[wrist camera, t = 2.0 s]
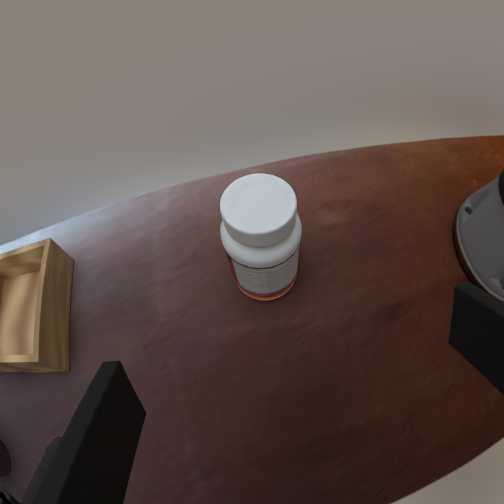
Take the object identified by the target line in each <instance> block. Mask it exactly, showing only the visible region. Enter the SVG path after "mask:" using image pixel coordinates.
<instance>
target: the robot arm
mask: <svg viewBox="0 0 504 504" xmlns="http://www.w3.org/2000/svg"><path fill="white" fill-rule="evenodd" d="M453 239H454V245H455V249H456V252H457V255H458V258H459V260H460V263H461V265H462V267H463V269H464V271H465V273H466V274H467V276H468V277H469V279H470V280H471V282H472V283H473V284H474V285H473V284H471V283H470V282H465V283H462V284H459V285H457V286H455V292H454V303H453V312H452V321H451V328H450V335H449V342H448V343H449V344H450V345H451V346H453V347H454V348H455V349H456V350H457V351H458V352H459V353H460V354H461V355H462V356H463V357H464V358H466V359H467V360H468V361H469V362H470V363H471V364H472V365H473V366H474V367H475V368H476V369H477V370H478V371H479V372H480V373H481V374H482V375H483V376H484V377H486V378H487V379H488V380H489V381H490V382H491V383H492V384H493V385H494V386H495V387H496V388H497V389H498V390H499V391H500V392H501V393H502V394H503V395H504V169H503V170H502V172H501V174H500V175H499V176H498V177H497V178H496V179H494V180H493V181H491V182H490V183H488V184H487V185H485V186H484V187H482V188H480V189H479V190H477V191H476V192H474V193H473V194H471V195H470V196H469V197H468V198H467V199H466V200H465V201H464V202H463V204H462V205H461V207H460V208H459V210H458V211H457V213H456V215H455V218H454V223H453ZM145 416H146V412H145V410H144V408H143V406H142V404H141V402H140V400H139V398H138V397H137V395H136V393H135V391H134V389H133V387H132V385H131V383H130V381H129V379H128V377H127V375H126V372H125V370H124V368H123V366H122V364H121V362H120V361H109V362H103V363H102V364H101V366H100V368H99V370H98V371H97V373H96V375H95V377H94V379H93V380H92V382H91V384H90V386H89V388H88V389H87V391H86V393H85V395H84V397H83V399H82V400H81V402H80V404H79V406H78V408H77V410H76V412H75V414H74V416H73V418H72V420H71V421H70V423H69V425H68V427H67V429H66V431H65V433H64V435H63V437H57V438H56V439H55V440H54V441H53V442H52V443H51V444H50V445H49V446H48V447H47V449H46V451H45V453H44V455H43V457H42V461H40V463H39V465H38V470H36V472H35V474H34V476H33V478H32V480H31V482H30V484H29V486H28V489H27V491H26V493H25V495H24V498H23V500H22V502H21V503H19V502H18V501H17V500H16V499H15V498H14V497H13V496H12V495H10V494H9V493H8V492H7V491H6V490H5V489H4V488H3V487H0V504H123V502H124V497H125V493H126V489H127V485H128V481H129V477H130V472H131V468H132V465H133V461H134V457H135V453H136V449H137V445H138V442H139V438H140V434H141V431H142V427H143V423H144V420H145Z"/></svg>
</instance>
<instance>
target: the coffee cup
mask: <svg viewBox="0 0 504 504" xmlns="http://www.w3.org/2000/svg"><path fill="white" fill-rule="evenodd" d="M9 472H10V458H9V455H8V452H7V450H6V448H5V446H4V444H3V443H2V442H1V441H0V477H1V476H6V475H8V474H9Z"/></svg>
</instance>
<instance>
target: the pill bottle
mask: <svg viewBox="0 0 504 504" xmlns="http://www.w3.org/2000/svg"><path fill="white" fill-rule="evenodd" d="M220 211H221V215H222V218H223V220H222V223H221V229H220V233H221V240H222V244H223V247H224V249H225V252H226V255H227V258H228V261H229V264H230V267H231V270H232V273H233V276H234V279H235V282H236V284H237V285H238V287H239V288H240V290H241V291H242V292H243V293H245V294H246V295H247V296H249V297H251V298H254V299H257V300H272V299H276V298H279V297H281V296H282V295H284V294H285V293H287V292H288V291H289V290H290V289H291V287H292V286H293V284H294V282H295V280H296V276H297V269H298V259H299V251H300V242H301V233H302V227H301V221H300V218H299V216H298V214H297V200H296V196H295V193H294V191H293V189H292V188H291V187H290V185H289V184H288V183H286V182H285V181H284V180H282V179H281V178H278V177H276V176H273V175H269V174H251V175H247V176H244V177H241V178H239V179H237V180H235V181H234V182H233V183H231V184H230V185H229V186H228V187H227V188H226V190H225V191H224V193H223V195H222V198H221V201H220Z"/></svg>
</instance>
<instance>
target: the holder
mask: <svg viewBox="0 0 504 504" xmlns="http://www.w3.org/2000/svg"><path fill="white" fill-rule="evenodd" d="M73 266H74V260H73V259H72V258H71V257H70V256H69V255H68V254H67V253H66V252H65V251H64V250H63V249H61V248H60V247H59V246H58V245H57V244H56V243H55V242H54V241H53V240H52V239H51V238H49V239H46V240H42V241H39V242H36V243H33V244H30V245H27V246H24V247H21V248H18V249H15V250H12V251H9V252H6V253H3V254H0V372H28V373H39V372H69V321H70V301H71V287H72V275H73Z"/></svg>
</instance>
